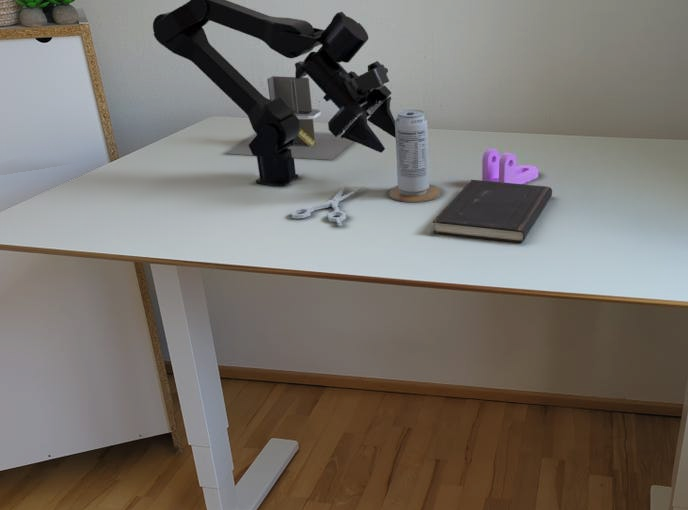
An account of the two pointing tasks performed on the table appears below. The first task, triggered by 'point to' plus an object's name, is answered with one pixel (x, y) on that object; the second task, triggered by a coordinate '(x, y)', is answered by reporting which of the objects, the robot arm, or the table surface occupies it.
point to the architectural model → (301, 122)
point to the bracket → (505, 168)
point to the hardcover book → (493, 211)
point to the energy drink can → (412, 152)
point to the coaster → (429, 195)
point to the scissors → (329, 203)
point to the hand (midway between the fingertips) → (392, 144)
